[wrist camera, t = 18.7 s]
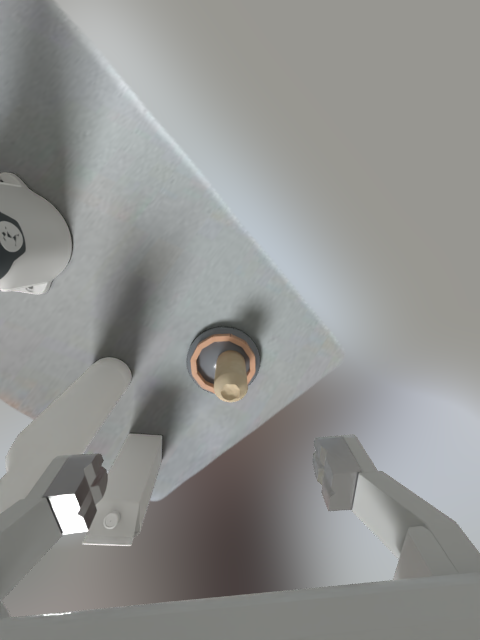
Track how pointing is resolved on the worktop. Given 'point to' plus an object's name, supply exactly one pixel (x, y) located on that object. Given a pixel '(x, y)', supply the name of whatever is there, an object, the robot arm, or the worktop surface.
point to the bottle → (63, 427)
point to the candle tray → (210, 348)
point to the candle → (230, 376)
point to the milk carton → (127, 492)
